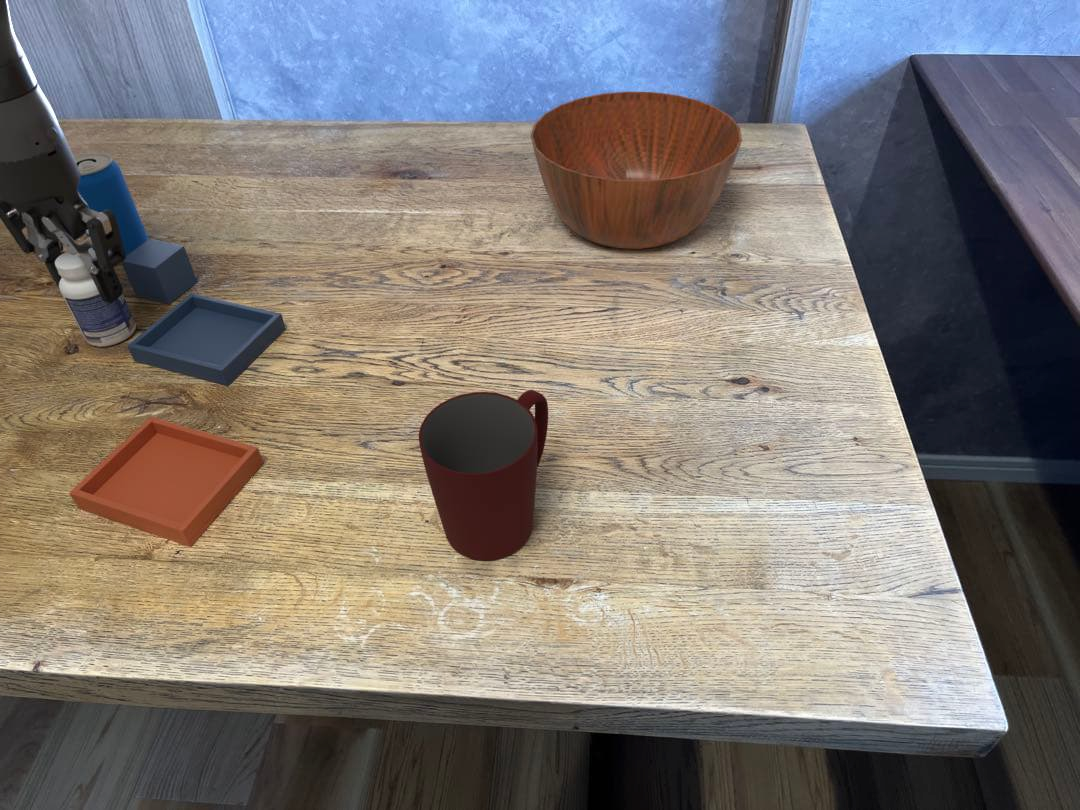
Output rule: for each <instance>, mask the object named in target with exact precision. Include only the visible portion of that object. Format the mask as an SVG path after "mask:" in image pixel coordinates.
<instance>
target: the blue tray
mask: <svg viewBox="0 0 1080 810" xmlns="http://www.w3.org/2000/svg"><path fill="white" fill-rule="evenodd" d="M286 329H287V328H286V325H285V321H284V318H283V314H282V313H280V312H276V311H272V310H267V309H263V308H258V307H254V306H249V305H246V304H240V303H237V302H232V301H227V300H223V299H220V298H214V297H211V296H206V295H203V294H202V295H201V294H198V293H193V292H190V293H189V294H188V295H187V296H186V297H185V298H183V299H182V300H181V301H180V302H178V303H177V304H176V305H175V306H174V307H172V308H171V309H170V310H168V312H166V313H165V314H164V315H162V316H161V317H160V318H159V319H158V320H157V321H155V322H154V323H153V324H151V325H150V326H149V327H148V328H147V329H146V330H144V331H143V332H142V333H141V334H139V335H138V336H137V337H136V338H135V339H133V340H132V341H131V342H129V344H127V345H126V347H127V349H128V351H129V354H130V355H131V357H132V360H133V361H134V362H136V363H139V364H143V365H147V366H151V367H154V368H159V369H163V370H166V371H171V372H174V373H177V374H181V375H185V376H187V377H193V378H195V379H199V380H204V381H207V382H211V383H214V384H219V385H221V386H222V385H223V386H226V387H229V386H230V385H231V384H232V383H233V382H234V381H235V380H236V379H237V378H238V377H239V376H241V374H242V373H243V372H244V371H245V370H247V369H248V367H249V366H251V364H252V363H253V362H254V361H255V360H256V359H257V358H258V357H260V356H261V354H262V353H263V352H264V351H265V350H266V349H268V347H269V346H270V345H271V344H273V342H275V341H276V339H277V338H279V337H280V336H281V334H282V333H283V332H285V331H286Z"/></svg>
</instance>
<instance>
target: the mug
mask: <svg viewBox="0 0 1080 810" xmlns="http://www.w3.org/2000/svg"><path fill="white" fill-rule="evenodd" d="M532 407H534V414H533V412H532V411H531V409H532ZM548 428H549V405H548V401H547V398H546V396H545V395H543V394H542V393H541V392H539V391H537V390H534V389H528V390H525V391H524V392H523V393H521V395H519V397H518V398H514V397H512V396H510V395H507V394H502V393H497V392H491V391H490V392H489V391H477V392H475V391H474V392H468V393H464V394H463V393H462V394H459V395H457V396H454V397H451V398H449V399H447V400H445V401H443V402H441V403H439V404H438V405H437V406H435V407H434V408H433V409H432V410H430V412H428V414H427V415H426V416H425V417H424V419H423V420H422V423H421V425H420V427H419V431H418V444H419V449H420V454H421V458H422V462H423V466H424V470H425V472H426V477H427V481H428V484H429V486H430V490H431V493H432V497H433V500H434V503H435V506H436V509H437V512H438V517H439V520H440V522H441V525H442V528H443V532H444V535H445V537H446V540H447V542H448V544H449V545H450V546H451V548H452V549H453V550H455V551H456V552H457V553H458V554H459V555H462V556H464V557H466V558H469V559H472V560H476V561H497V560H500V559H503V558H506V557H508V556H511V555H513V554H515V553H516V552H518V551H519V550H520V549H522V547H524V545H525V544H526V543H527V541H528V540H529V538H531V534H532V531H533V526H534V519H535V517H534V515H535V502H536V487H537V473H538V472H537V471H538V468H539V465H540V463H541V460H542V456H543V455H544V449H545V446H546V442H547V441H546V440H547V434H548Z"/></svg>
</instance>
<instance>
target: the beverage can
mask: <svg viewBox="0 0 1080 810" xmlns="http://www.w3.org/2000/svg"><path fill="white" fill-rule="evenodd" d="M73 157H74V159H75V161H76V163H77V166H78V168H79V170H80V173H81V177H80V181H79V184H78V192H79V194H80V196H81V197H82V198H83V200H84V201H85V202H86V203H87V205H88V207H89V209H91V210H94V211H96V212H99V213H101V212H102V211H104V210H106V209H109V210H111V211H112V212H113V213H114V215H115V217H116V221H117V225H118V229H119V232H120V236H121V240H122V243H123V247H124V251H125V255H126V256H127V255H128V254H130V253H131V252H133V251H134V250H135V249H137V248H138V247H139V246H141V245H142V244H144V243H145V242H146V241H148V240H149V239H150V238H149V236H148V234H147V231H146V229H145V227H144V225H143V221H142V219H141V217H140V214H139V211H138V208H137V207H136V204H135V202H134V199H133V196H132V195H131V192H130V189H129V187H128V185H127V182H126V180H125V177H124V175H123V173H122V169H121V168H120V166H119V164H118V163H117V162H116V161H114V160H113V158H112V156H111V155H110V154H109V153H106V152H100V151H99V152H98V151H93V152H85V153H82V154H77V155H73ZM84 235H85V236H86V239H87V238H88V234H87V233H85V234H84ZM91 249H92V250H94V248H93V247H91ZM109 251H110V252H112V250H111V249H110V250H109Z"/></svg>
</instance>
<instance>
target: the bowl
mask: <svg viewBox="0 0 1080 810" xmlns="http://www.w3.org/2000/svg"><path fill="white" fill-rule="evenodd" d="M530 140H531V144H532V148H533V153H534V156H535V159H536V163H537V167H538V171H539V174H540V177H541V180H542V182H543V186H544V188H545V191H546V194H547V196H548V198H549V200H550V202H551V205H552V206H553V208H554V210H555V212H556V213H557V215H558V216H559V217H560V219H561V220H562V221H563V222H564V223H565V224H566V225H567V226H568V227H569V228H570V230H572V232H574V233H576V234H577V235H579V236H581V237H582V238H584V239H585V240H587V241H590V242H593V243H596V244H598V245H601V246H605V247H610V248H616V249H629V250H639V249H641V250H642V249H649V248H656V247H657V248H658V247H660V246H665V245H668V244H671V243H675V242H676V241H678V240H680V239H682V238H684V237H686V236H688V235H689V234H690V233H691V232H692V231H694V230H695V229H696V228H698V226H699V225H701V224H702V223H703V221H705V220H706V218H707V217H708V215H709V214H710V213H711V211H712V210H713V208H714V206H715V205H716V203H717V201H718V199H719V197H720V195H721V193H722V191H723V189H724V188H725V185H726V183H727V181H728V179H729V176H730V175H731V172H732V169H733V167H734V165H735V162H736V159H737V157H738V154H739V152H740V148H741V145H742V142H743V138H742V130H741V128H740V126H739V125H738V123H737V122H736V121H735V119H734V118H733V117H732V116H731V115H729V114H728V113H726V112H724V111H723V110H722V109H720V108H719V107H716V106H714V105H711V104H709V103H706V102H704V101H701V100H700V99H695V98H691V97H687V96H683V95H678V94H674V93H673V94H672V93H663V92H656V91H616V92H606V93H605V92H604V93H598V94H593V95H588V96H584V97H579V98H576V99H573V100H570V101H568V102H563V103H561V104H559V105H558V106H556V107H554V108H552V109H550V110H548V111H547V112H545V113H543V115H541V116H540V117H539V118H538V119H537V120H536V122H535V123H534V124H533V127H532V130H531V132H530Z"/></svg>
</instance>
